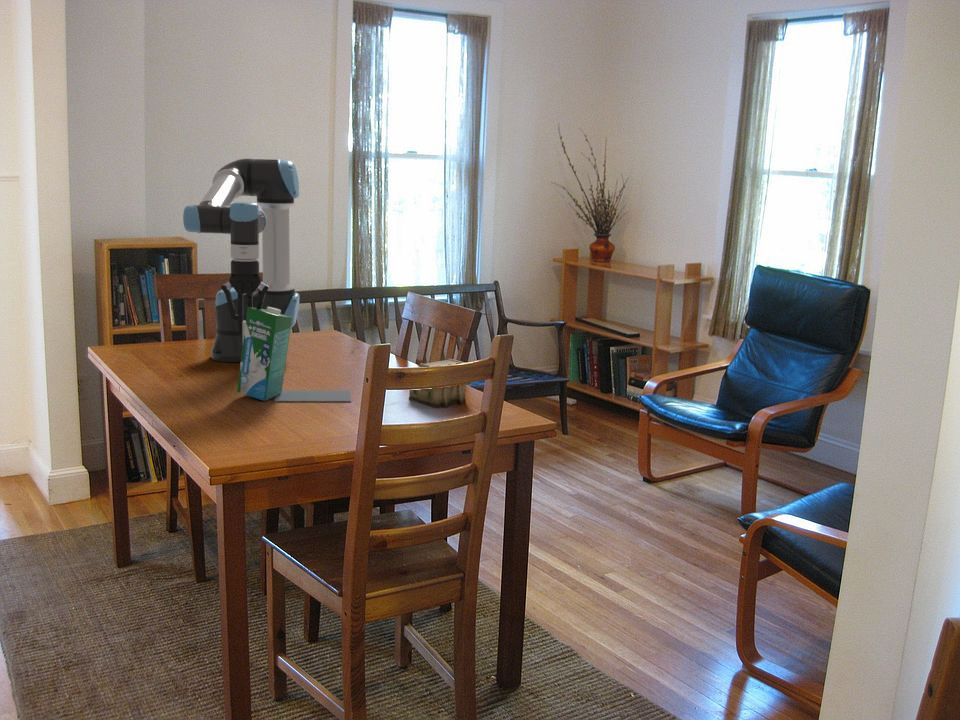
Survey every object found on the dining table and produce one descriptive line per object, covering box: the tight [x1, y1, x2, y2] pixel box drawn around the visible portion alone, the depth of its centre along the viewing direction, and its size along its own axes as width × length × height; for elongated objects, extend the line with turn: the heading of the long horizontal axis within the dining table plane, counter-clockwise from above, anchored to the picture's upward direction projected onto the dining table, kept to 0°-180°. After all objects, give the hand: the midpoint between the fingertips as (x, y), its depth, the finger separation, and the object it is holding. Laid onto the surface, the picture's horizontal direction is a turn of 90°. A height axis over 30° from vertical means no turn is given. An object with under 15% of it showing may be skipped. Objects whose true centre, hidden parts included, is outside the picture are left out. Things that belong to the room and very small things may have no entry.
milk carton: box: [236, 307, 292, 402], centre depth 263 cm, size 9×9×25 cm
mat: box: [273, 389, 352, 403], centre depth 269 cm, size 12×21×1 cm, turn 98°
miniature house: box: [408, 358, 467, 409], centre depth 270 cm, size 15×14×11 cm
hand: (246, 344), depth 263 cm, fingers closed
